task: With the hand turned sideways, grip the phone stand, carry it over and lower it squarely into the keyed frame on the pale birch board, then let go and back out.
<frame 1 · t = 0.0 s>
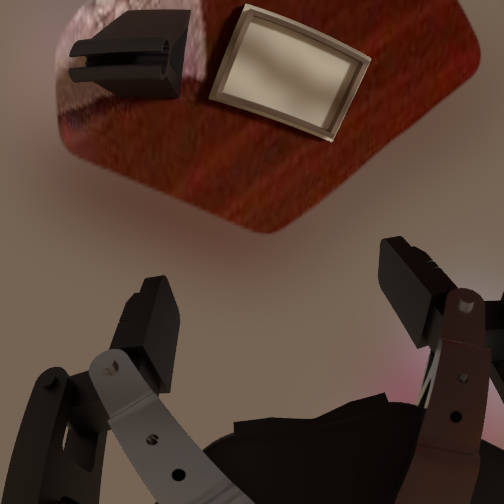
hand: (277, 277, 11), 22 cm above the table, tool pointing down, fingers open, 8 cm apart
phone stand: (153, 52, 24), on the table
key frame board: (291, 72, 26), on the table
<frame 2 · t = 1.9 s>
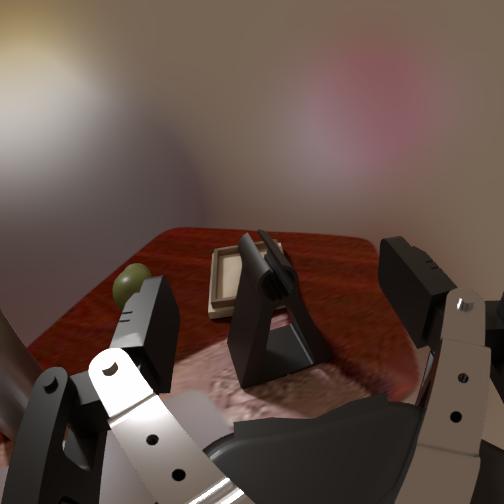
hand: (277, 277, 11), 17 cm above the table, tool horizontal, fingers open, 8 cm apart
pear: (141, 300, 41), on the table
phone stand: (278, 354, 30), on the table
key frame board: (250, 279, 41), on the table
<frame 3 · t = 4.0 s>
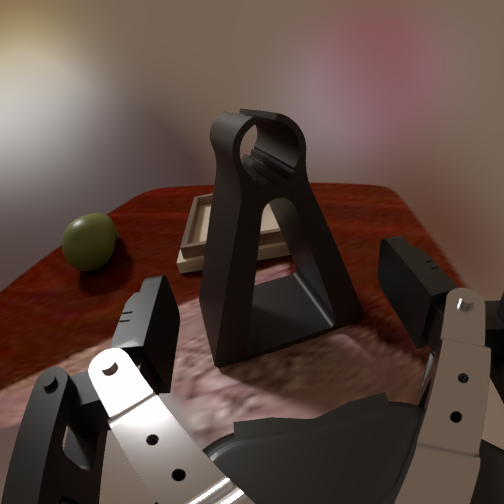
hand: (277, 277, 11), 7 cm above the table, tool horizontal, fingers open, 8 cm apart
pear: (101, 257, 31), on the table
phone stand: (277, 315, 19), on the table
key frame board: (238, 228, 31), on the table
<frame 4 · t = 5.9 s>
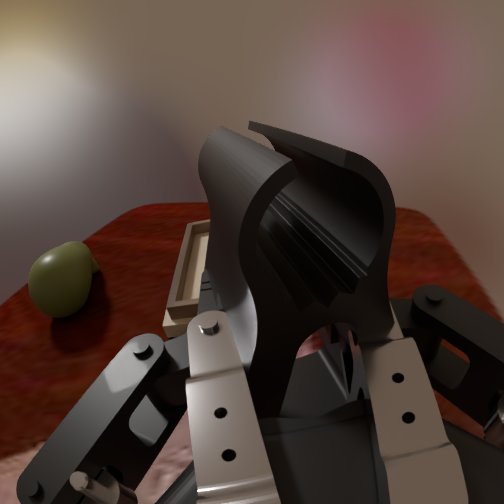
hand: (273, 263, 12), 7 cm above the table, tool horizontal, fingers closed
pear: (77, 295, 25), on the table
phone stand: (297, 416, 13), on the table, touching gripper
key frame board: (242, 269, 24), on the table
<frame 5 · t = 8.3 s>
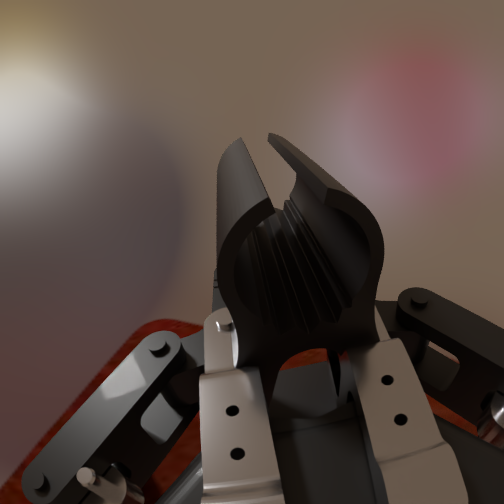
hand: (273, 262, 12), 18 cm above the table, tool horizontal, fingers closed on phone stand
phone stand: (299, 421, 13), point 11 cm above the table, touching gripper
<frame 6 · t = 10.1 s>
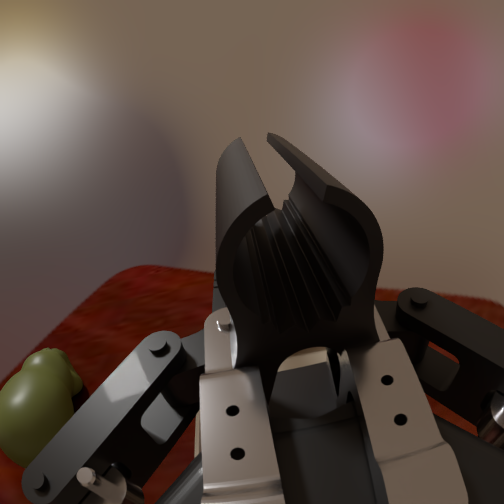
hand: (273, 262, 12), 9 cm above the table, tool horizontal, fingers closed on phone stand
pear: (60, 423, 16), on the table
phone stand: (298, 422, 13), point 2 cm above the table, touching gripper, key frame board
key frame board: (293, 434, 14), on the table
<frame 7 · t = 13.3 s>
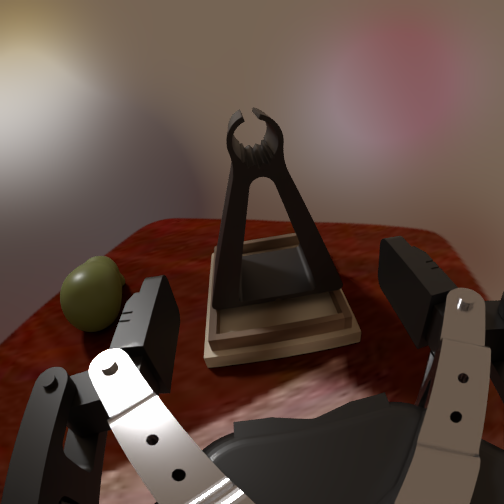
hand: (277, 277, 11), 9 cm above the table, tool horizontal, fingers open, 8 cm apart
pear: (105, 308, 27), on the table
phone stand: (273, 278, 24), point 2 cm above the table, touching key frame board
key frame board: (273, 295, 25), on the table
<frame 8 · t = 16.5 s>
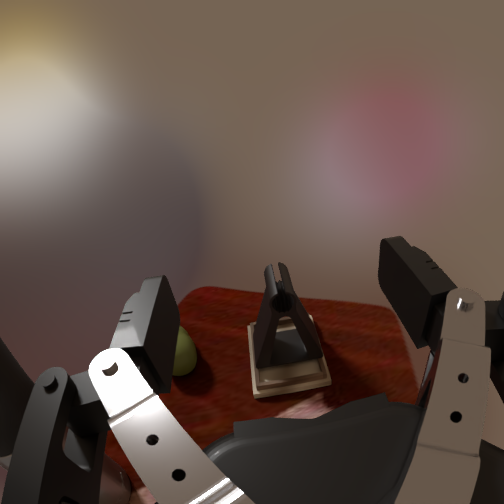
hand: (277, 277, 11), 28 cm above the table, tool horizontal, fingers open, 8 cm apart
pear: (181, 358, 45), on the table
phone stand: (287, 348, 42), point 2 cm above the table, touching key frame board
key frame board: (286, 355, 43), on the table
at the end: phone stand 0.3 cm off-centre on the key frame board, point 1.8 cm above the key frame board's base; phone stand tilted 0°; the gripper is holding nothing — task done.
